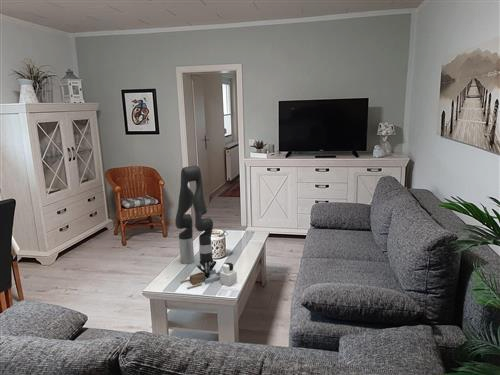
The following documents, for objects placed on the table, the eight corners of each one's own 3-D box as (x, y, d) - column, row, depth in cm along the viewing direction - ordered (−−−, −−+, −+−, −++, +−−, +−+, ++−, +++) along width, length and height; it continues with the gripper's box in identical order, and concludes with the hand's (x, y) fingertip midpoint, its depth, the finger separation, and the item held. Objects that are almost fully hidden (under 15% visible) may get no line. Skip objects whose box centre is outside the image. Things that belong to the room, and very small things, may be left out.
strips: (180, 282, 229) (180, 281, 229) (194, 278, 234) (194, 277, 233) (187, 289, 220) (187, 288, 219) (202, 285, 224) (201, 284, 224)
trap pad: (216, 273, 240) (216, 273, 240) (221, 271, 242) (221, 271, 242) (222, 278, 233) (222, 277, 233) (228, 276, 235) (228, 276, 235)
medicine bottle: (228, 279, 231) (227, 260, 229) (237, 282, 227) (236, 263, 224) (220, 283, 226) (219, 264, 224) (229, 286, 221) (228, 267, 219)
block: (189, 282, 228) (189, 275, 228) (201, 279, 233) (201, 272, 232) (193, 285, 225) (192, 278, 224) (205, 281, 229) (204, 274, 228)
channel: (197, 277, 235) (197, 273, 235) (215, 272, 241) (215, 269, 241) (205, 284, 225) (205, 280, 225) (223, 279, 232) (223, 275, 231)
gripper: (212, 246, 235) (214, 273, 238) (193, 251, 228) (194, 278, 232) (218, 250, 229) (219, 277, 232) (198, 255, 222) (200, 282, 225)
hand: (207, 277), depth 232 cm, fingers closed
